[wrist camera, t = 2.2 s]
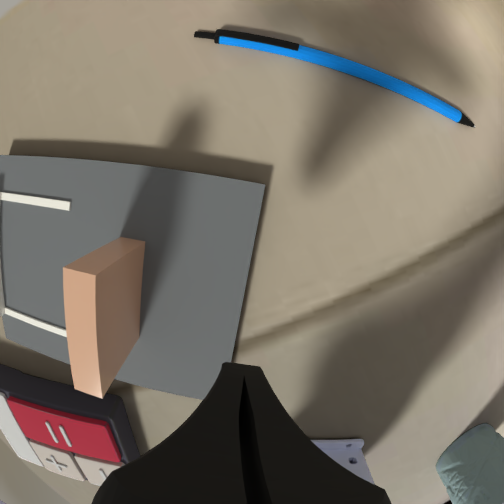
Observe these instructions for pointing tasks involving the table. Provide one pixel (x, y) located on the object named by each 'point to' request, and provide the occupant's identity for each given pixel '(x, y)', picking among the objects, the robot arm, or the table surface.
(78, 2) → the table surface
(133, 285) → the tile
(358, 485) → the robot arm
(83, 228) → the mat
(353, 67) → the pen
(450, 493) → the green cup
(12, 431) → the calculator
